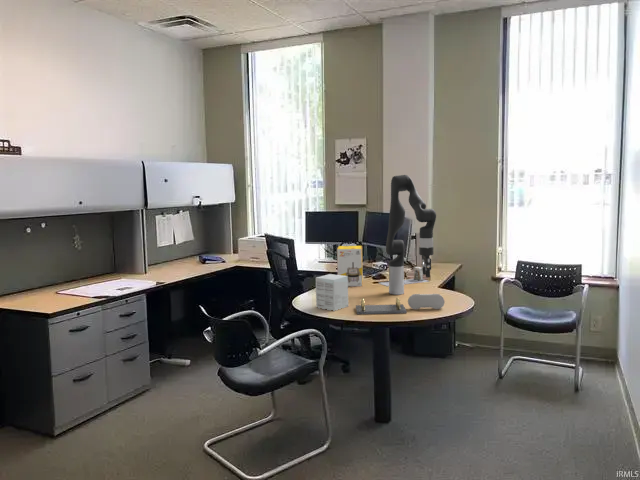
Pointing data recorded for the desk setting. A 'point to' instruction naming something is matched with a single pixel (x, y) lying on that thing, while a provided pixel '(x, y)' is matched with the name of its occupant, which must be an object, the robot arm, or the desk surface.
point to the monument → (417, 279)
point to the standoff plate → (380, 308)
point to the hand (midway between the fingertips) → (426, 275)
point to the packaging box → (350, 264)
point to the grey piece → (426, 301)
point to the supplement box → (332, 292)
